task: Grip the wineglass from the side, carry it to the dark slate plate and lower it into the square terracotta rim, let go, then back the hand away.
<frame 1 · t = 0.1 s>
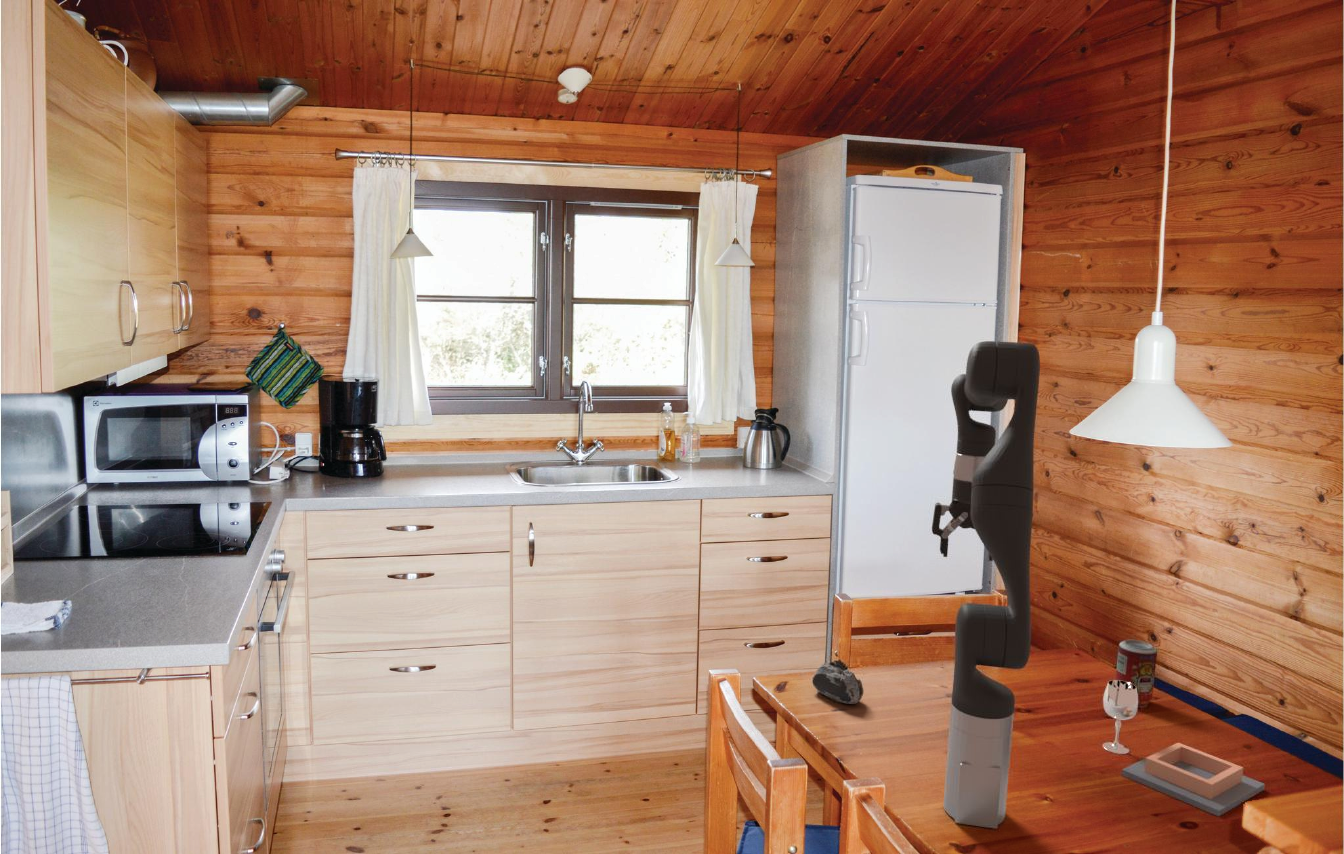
hand: (967, 558, 193), 29 cm above the table, tool pointing down, fingers open, 8 cm apart
dark grey rock: (843, 697, 197), on the table
glass holder: (1192, 781, 165), on the table
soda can: (1132, 702, 199), on the table
wineglass: (1115, 749, 177), on the table
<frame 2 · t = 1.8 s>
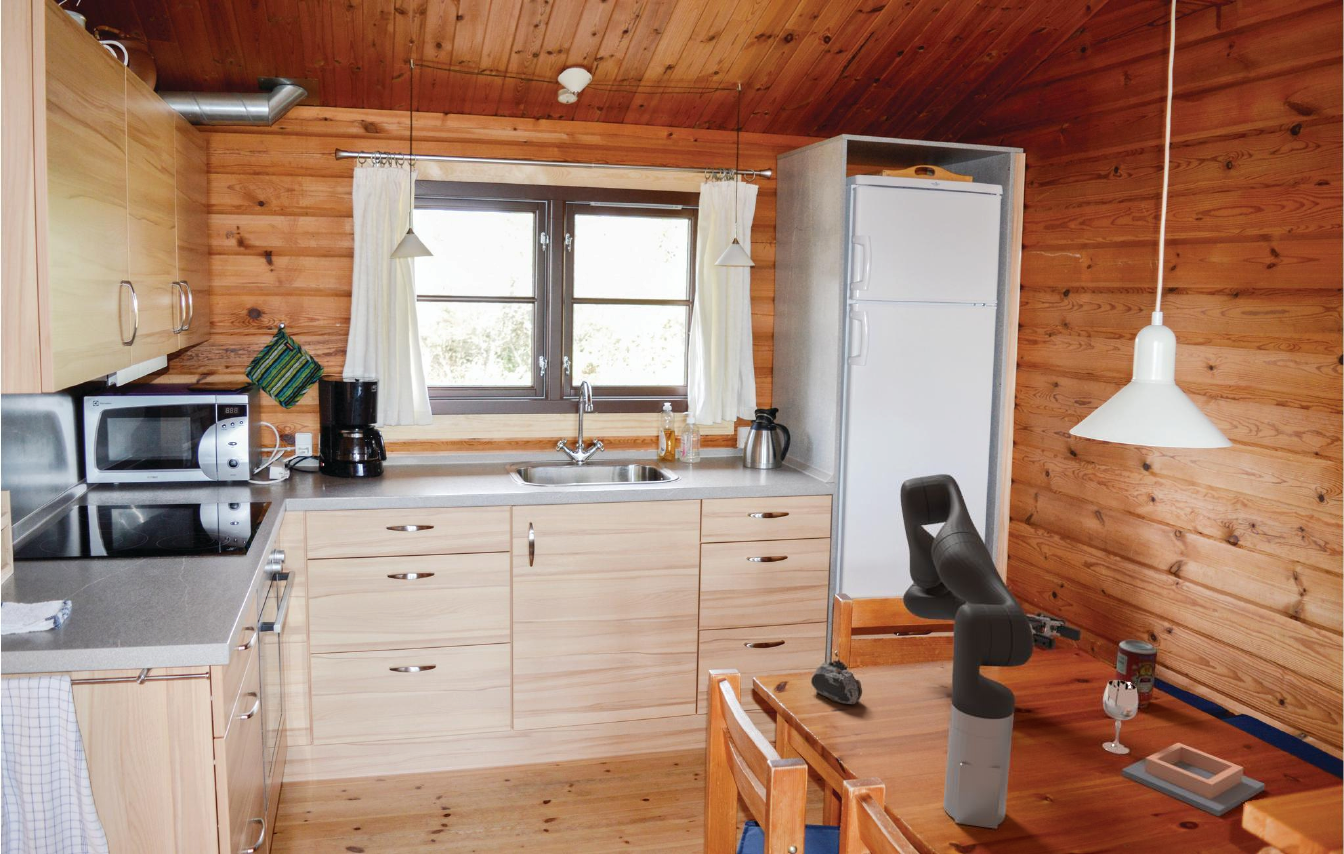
hand: (1067, 640, 184), 17 cm above the table, tool horizontal, fingers open, 8 cm apart
nothing on the table moved.
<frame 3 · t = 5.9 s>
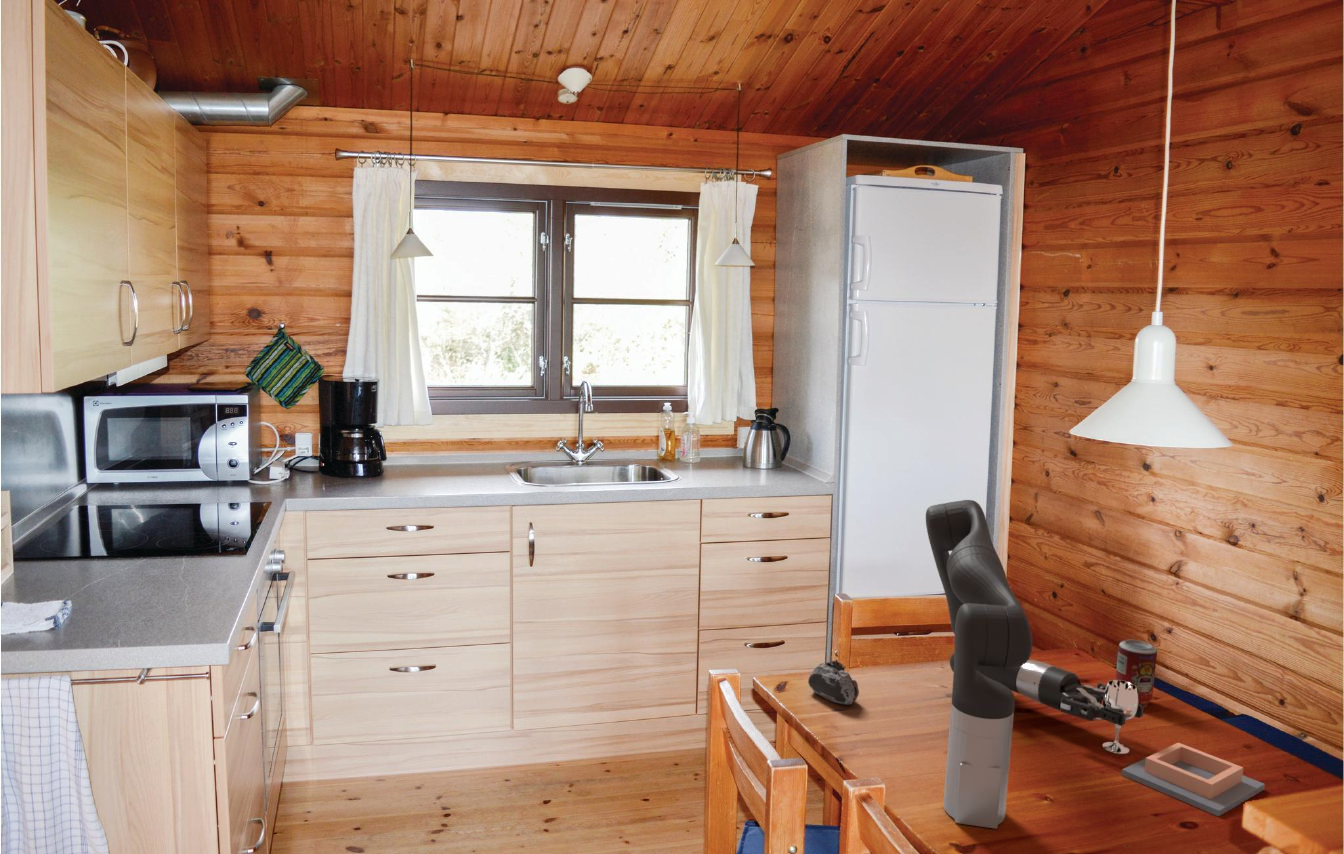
hand: (1133, 715, 174), 7 cm above the table, tool horizontal, fingers closed on wineglass, 5 cm apart
wineglass: (1115, 749, 177), on the table, touching gripper
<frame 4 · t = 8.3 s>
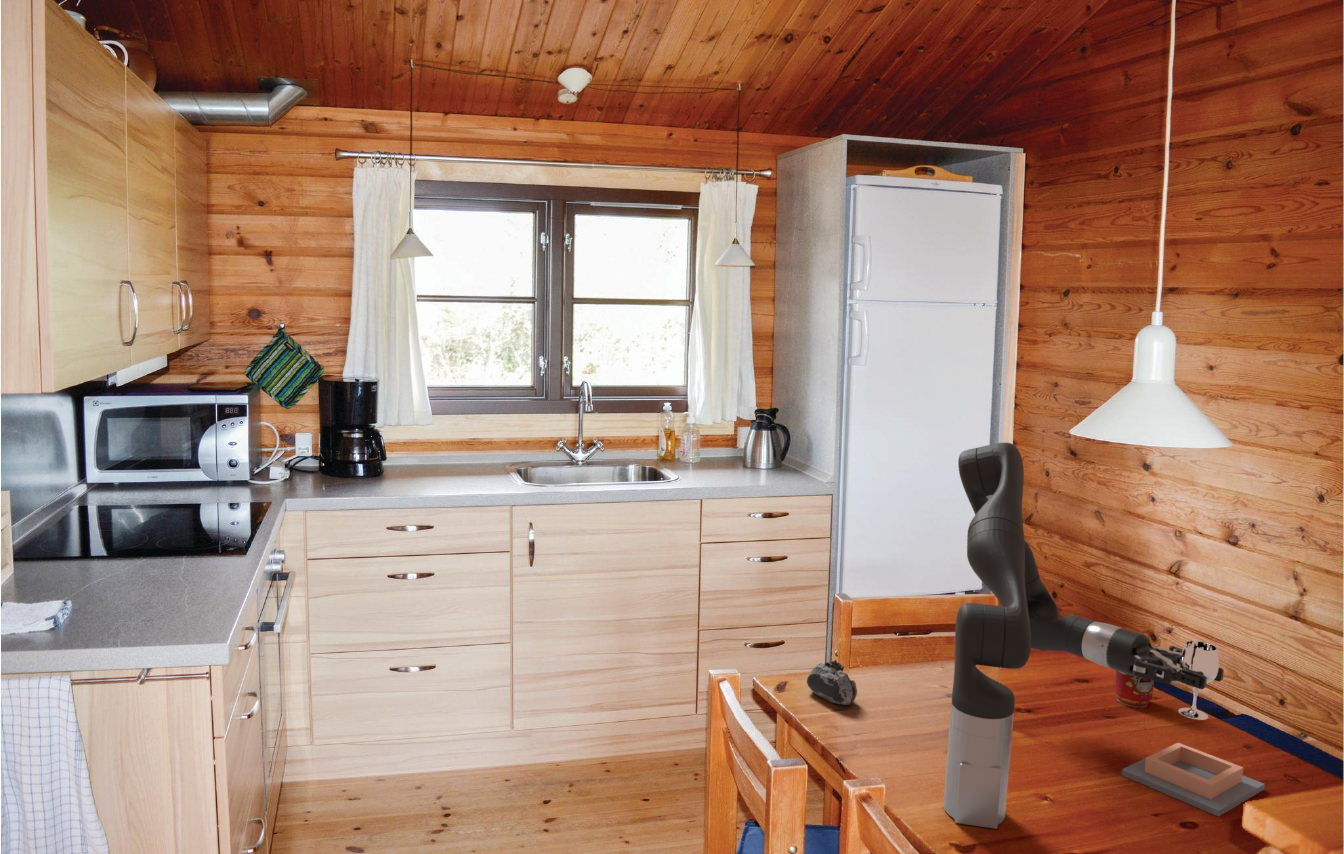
hand: (1213, 679, 162), 19 cm above the table, tool horizontal, fingers closed on wineglass, 5 cm apart
wineglass: (1193, 714, 165), point 11 cm above the table, touching gripper
when the fingers open (9 cm above the table, at t = 10.8 s): wineglass moves 2 cm, resting on glass holder.
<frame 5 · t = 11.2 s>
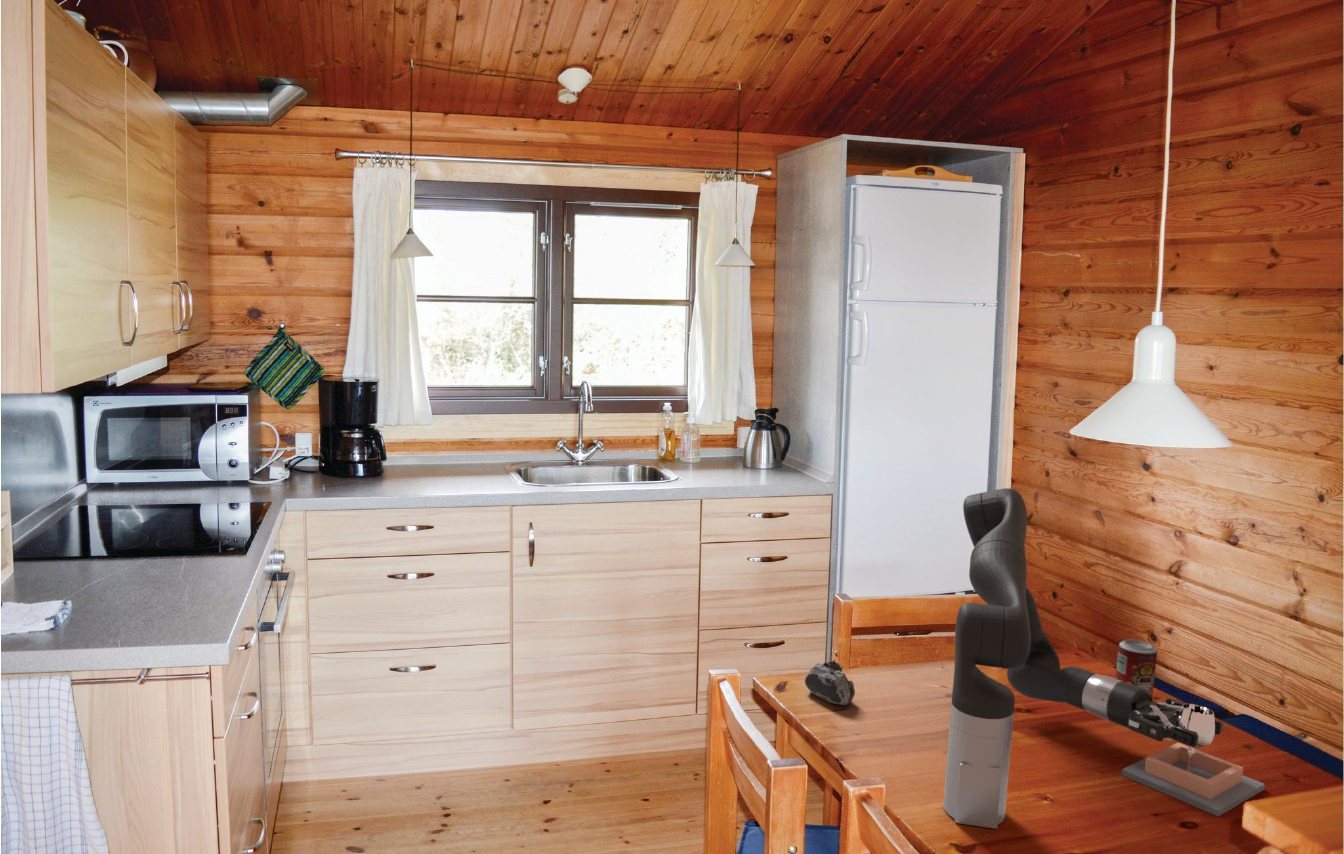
hand: (1209, 734, 163), 9 cm above the table, tool horizontal, fingers open, 8 cm apart
wineglass: (1186, 779, 164), point 1 cm above the table, touching glass holder, gripper
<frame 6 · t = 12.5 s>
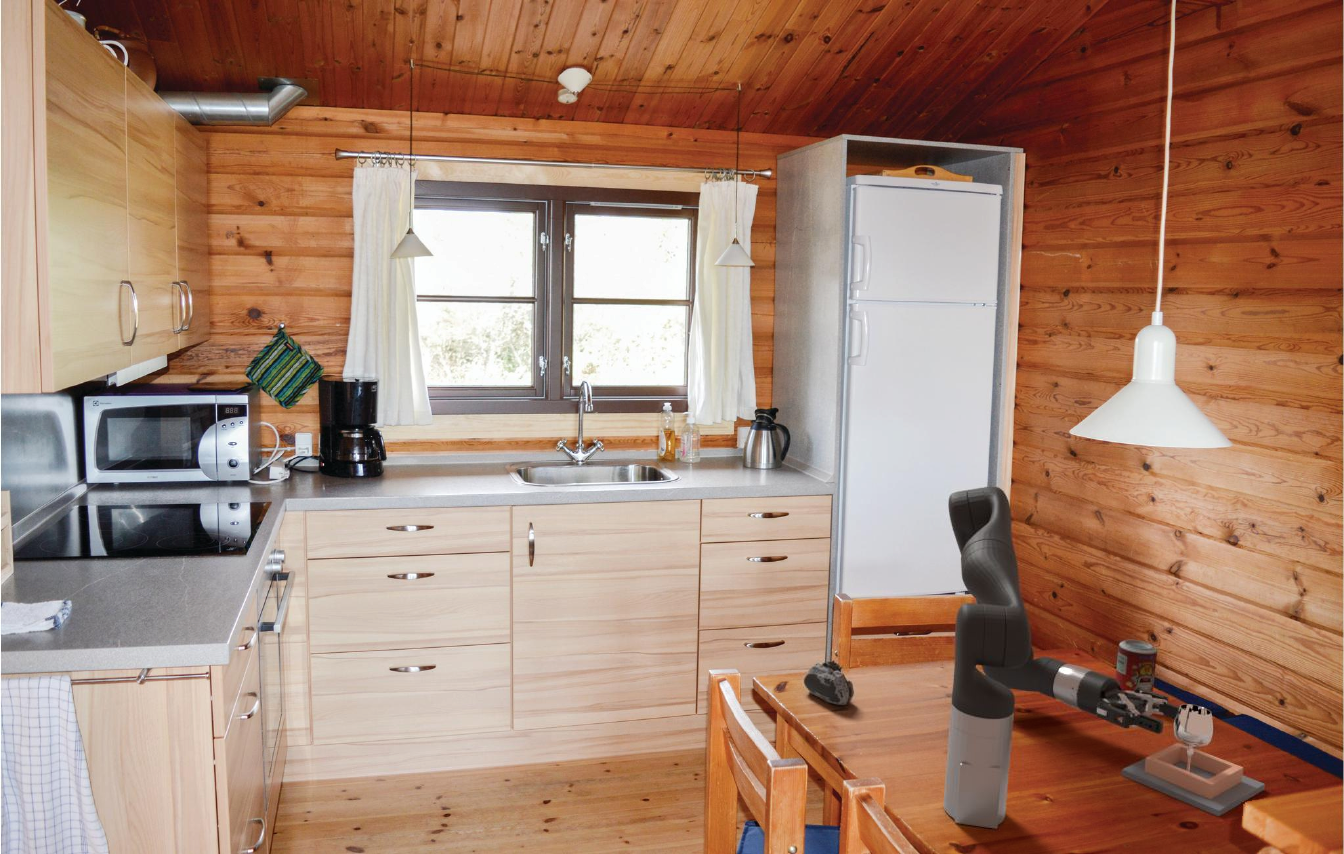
hand: (1174, 722, 167), 9 cm above the table, tool horizontal, fingers open, 8 cm apart
wineglass: (1186, 779, 164), point 1 cm above the table, touching glass holder
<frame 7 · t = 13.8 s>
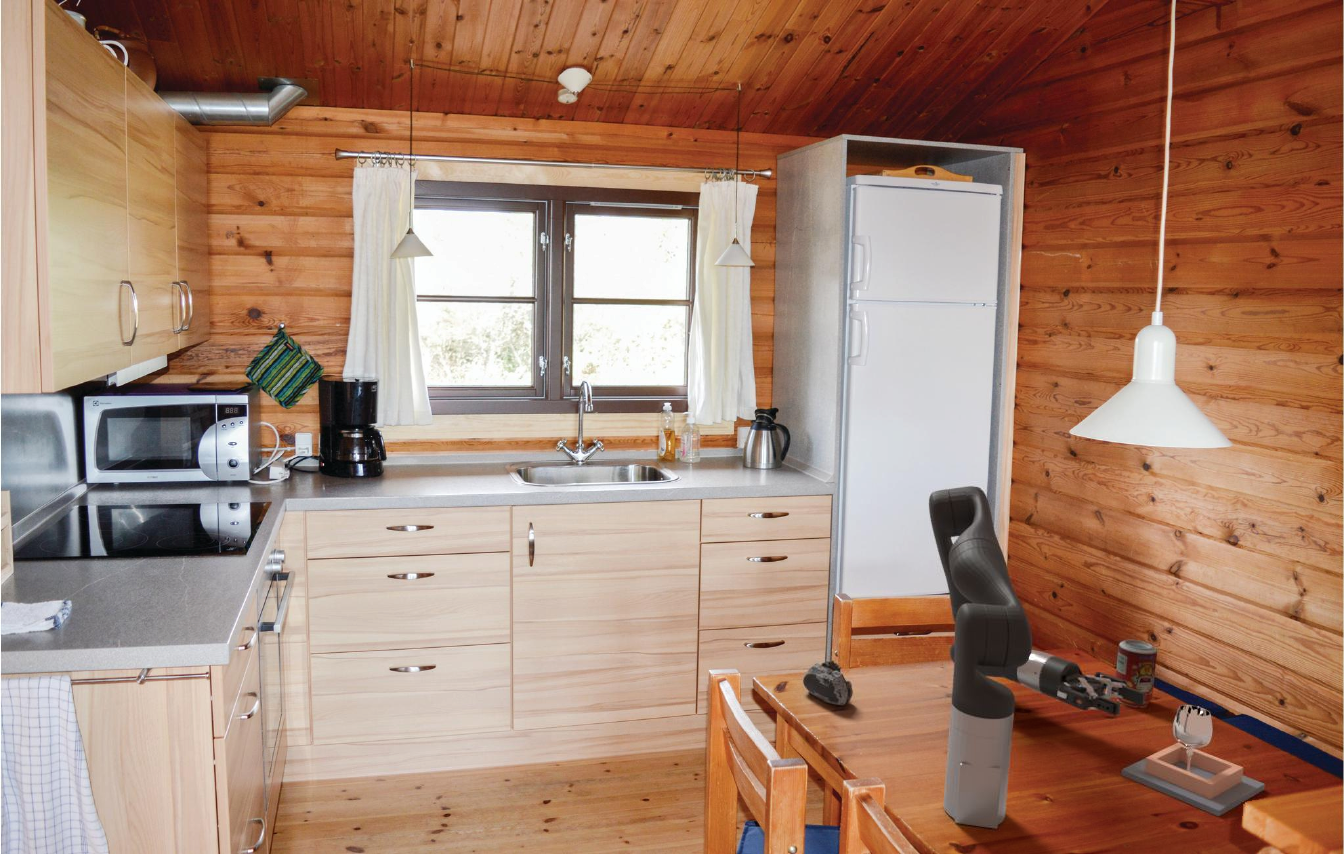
hand: (1131, 704, 173), 10 cm above the table, tool horizontal, fingers open, 8 cm apart
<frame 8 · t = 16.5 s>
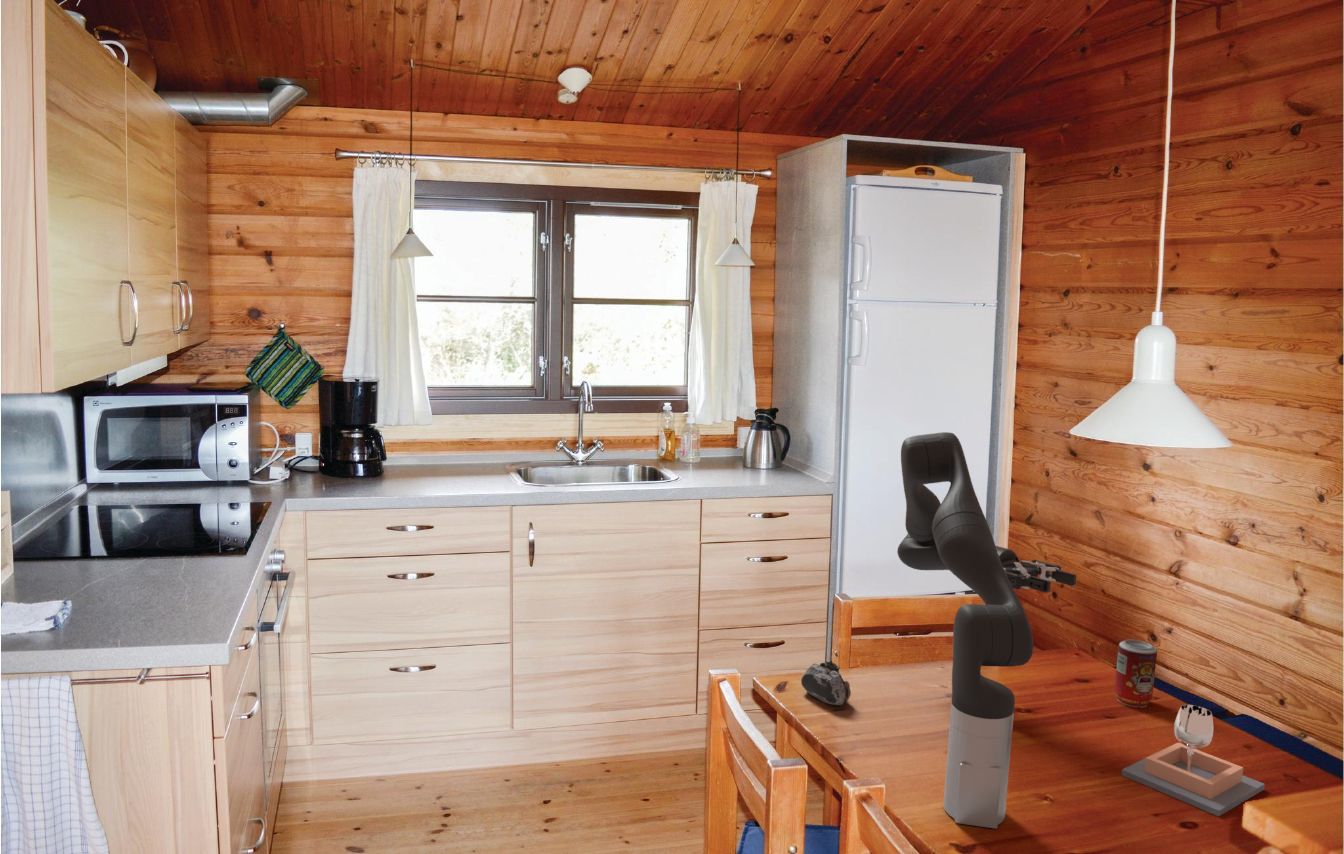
hand: (1062, 583, 181), 28 cm above the table, tool horizontal, fingers open, 8 cm apart
at the end: wineglass 1.8 cm off-centre on the glass holder, point 0.9 cm above the glass holder's base; wineglass tilted 2°; the gripper is holding nothing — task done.
